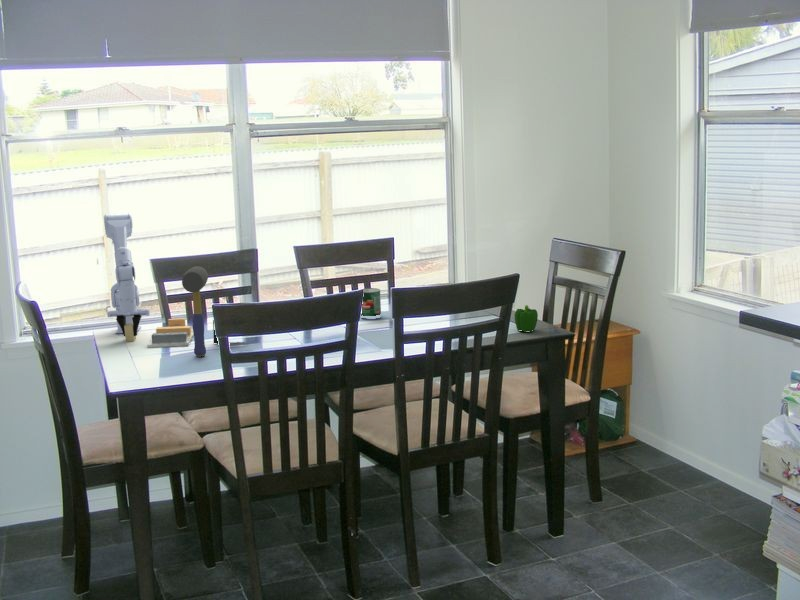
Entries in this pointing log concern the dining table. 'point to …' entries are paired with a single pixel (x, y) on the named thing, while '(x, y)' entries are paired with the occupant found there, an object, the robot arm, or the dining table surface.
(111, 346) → the dining table surface
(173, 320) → the sliding jaw
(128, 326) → the brass block
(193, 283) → the rubber mallet
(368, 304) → the canned tomato
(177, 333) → the gray rectangular tray
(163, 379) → the dining table surface
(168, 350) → the dining table surface
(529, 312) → the bell pepper
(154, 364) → the dining table surface
